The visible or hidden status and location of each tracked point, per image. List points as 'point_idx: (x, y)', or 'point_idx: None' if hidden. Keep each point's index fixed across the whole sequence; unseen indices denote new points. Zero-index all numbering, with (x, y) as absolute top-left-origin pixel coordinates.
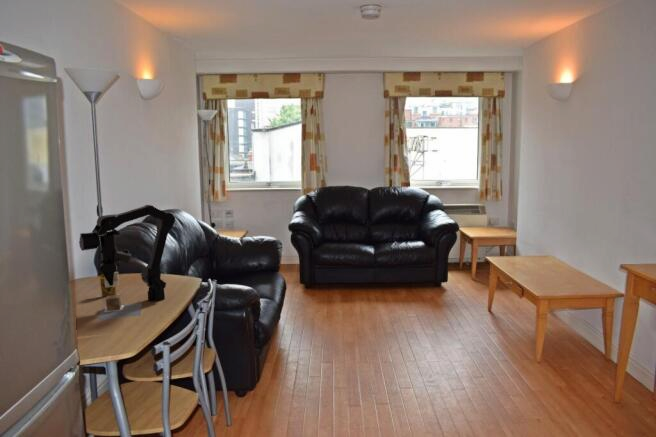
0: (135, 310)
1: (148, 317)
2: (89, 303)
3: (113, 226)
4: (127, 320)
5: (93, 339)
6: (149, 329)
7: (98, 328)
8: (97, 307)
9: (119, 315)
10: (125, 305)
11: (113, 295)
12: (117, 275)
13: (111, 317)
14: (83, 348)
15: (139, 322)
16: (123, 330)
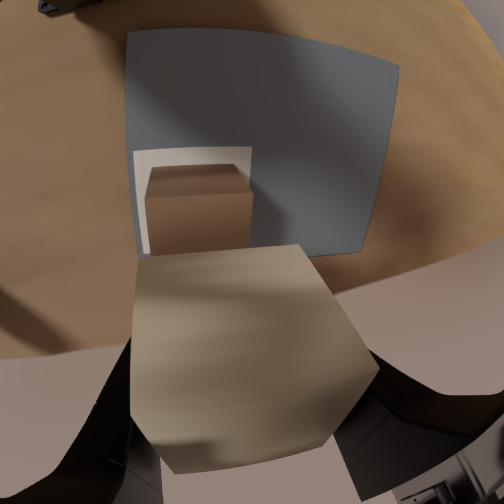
0: (301, 70)
1: (405, 34)
2: (45, 328)
3: None
4: (400, 124)
5: (472, 229)
6: (495, 80)
7: (416, 229)
8: (105, 291)
9: (348, 160)
10: (147, 139)
11: (158, 246)
12: (307, 356)
13: (356, 196)
14: (491, 240)
15: (441, 85)
16: (472, 151)
